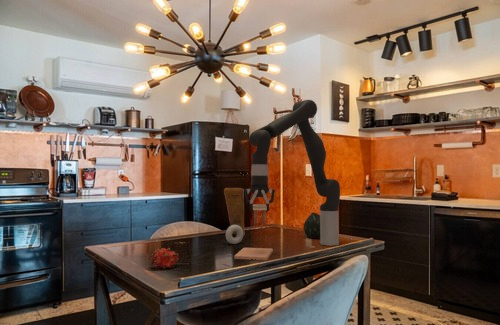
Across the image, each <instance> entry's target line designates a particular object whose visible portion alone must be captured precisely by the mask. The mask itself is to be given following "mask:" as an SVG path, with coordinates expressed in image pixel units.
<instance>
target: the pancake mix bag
mask: <svg viewBox="0 0 500 325" xmlns="http://www.w3.org/2000/svg"><path fill="white" fill-rule="evenodd" d="M244 190H245V189H244V188H242V187H225V188H224V189H223V194H224V198H225V203H226V207H227V213H228V220H229V227H230V226H231V225H238V226H240V227H241V228H242V230H243V237H244V236H245V234H246V233H245V202H244V201H245V198H244V197H245V191H244ZM232 235H234V236H237V232H236V231H234V232H233V233H232Z"/></svg>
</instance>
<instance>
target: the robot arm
mask: <svg viewBox="0 0 500 325" xmlns="http://www.w3.org/2000/svg"><path fill="white" fill-rule="evenodd" d="M292 105H293V106H292V111H291V112H289V113H287V114H285V115H283V116H282V115H281V116H280V117H277V118H276V119H274V120H273V121H271V122H269V123H268V124H266V125H264V126H262V127H260V128H257V129H256V130H253V132H251V133H250V135H249V137H248V142H249V143H250V145H251V146H253V147H256V150H255V151H253V153H251V172H250V174H251V177H250V179H251V180H250V182H251V183H250V184H251V185H250V186H251V187H249V188H245V189H244V197H245V198H244V200H245V203H248V204H249V211H250V212H251V213H254V210H253V205H254V204H253V203H254V201H255V199H256V198H264V201H265V205H266V206H267V210H265V213H268V212H269V211H270V204H271V203H274V199H275V193H276V191H275V189H274V188H273V189H272V188H269V169H268V156H269V151H270V148H271V142H272V139H274V138H277V137H278V136H280V135H282V134H283V133H285V132H286V131H288V130H289V129H291V128H293V127H294V126H296V125H297V127H298V130H299V132H300V136H301V138H302V140H303V144H304V148H305V152H306V155H307V157H308V161H309V164H310V167H311V170H312V175H313V180H314V186H315V190H316V192H317V193H318V195H319V196H320V197H324V198H325V201H324V202H323V203H321V204H320V206H319V215H320V239H319V240H320V242H319V244H320V245H323V246H328V247H329V246H330V247H331V246H340V236H339V234H340V233H339V232H340V231H339V230H340V229H339V226H340V225H339V207H340V204H341V203H340V202H341V186H340V182H339V181H338V180H337V179H333V178H329V179H328V178H327V176H326V172H325V163H326V157H327V151H326V148H325V144H324V141H323V139H322V138H321V137H320V135H318V133H317V132H316V131H315V130H314V129H313V127H312V126H311V122H310V119H312V118H314V117H315V116H316V114H317V112H318V105H317V103H316V102H315V101H314V100H312V99H303V100H300V101H297V102H295V103H294V104H292ZM250 192H251V193H252V197H251V198H250V199H249V194H250ZM268 192H269V193H270V199H268V197H267V194H268Z"/></svg>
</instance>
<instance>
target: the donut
mask: <svg viewBox="0 0 500 325" xmlns="http://www.w3.org/2000/svg"><path fill="white" fill-rule="evenodd" d="M234 231H236V232H237V235H235V237H233V234H232V233H233V232H234ZM225 238H226V241H227V242H228V243H229V244H231V245H237V244H239V243H240V242H241V241H242V240H243V238H244V236H243V230H242V228H241V227H240V226H238V225H231V226H230V225H229V226H228V227H227V229H226V230H225Z"/></svg>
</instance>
